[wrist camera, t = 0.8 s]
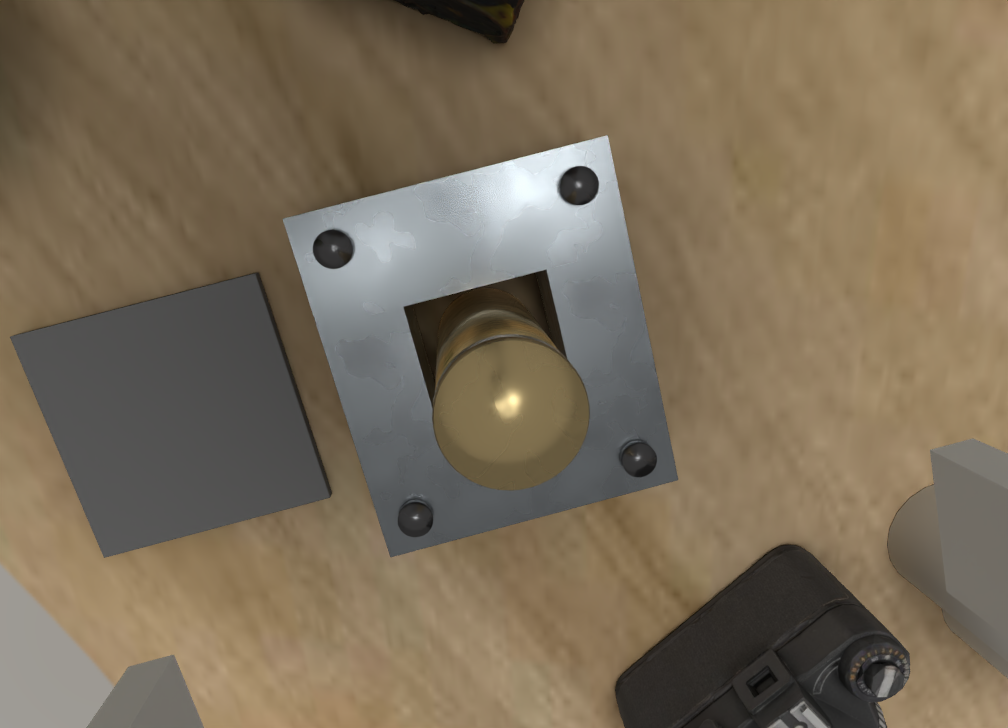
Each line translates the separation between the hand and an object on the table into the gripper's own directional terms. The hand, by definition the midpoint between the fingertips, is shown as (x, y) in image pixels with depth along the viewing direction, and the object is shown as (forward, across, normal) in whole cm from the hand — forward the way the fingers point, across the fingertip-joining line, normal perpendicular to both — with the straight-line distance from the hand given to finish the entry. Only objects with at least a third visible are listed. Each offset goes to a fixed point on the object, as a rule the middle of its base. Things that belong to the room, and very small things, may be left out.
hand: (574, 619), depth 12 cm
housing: (+25, 0, 0) cm, 25 cm away
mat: (+25, -16, 0) cm, 30 cm away
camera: (+26, +10, -22) cm, 35 cm away
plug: (+25, 0, 0) cm, 25 cm away
